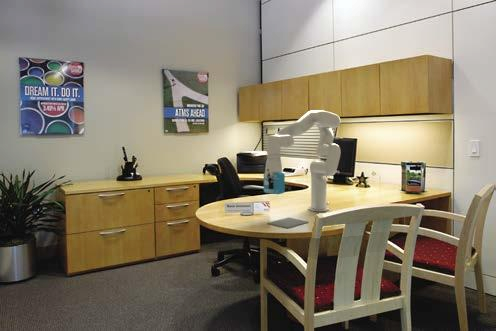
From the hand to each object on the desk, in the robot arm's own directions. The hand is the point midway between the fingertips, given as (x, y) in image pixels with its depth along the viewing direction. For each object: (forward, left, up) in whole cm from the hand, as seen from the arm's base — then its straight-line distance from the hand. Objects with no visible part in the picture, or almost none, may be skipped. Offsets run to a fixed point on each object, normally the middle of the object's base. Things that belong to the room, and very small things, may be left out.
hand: (274, 188), depth 227 cm
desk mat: (+5, +15, -17) cm, 23 cm away
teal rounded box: (0, 0, -3) cm, 3 cm away
